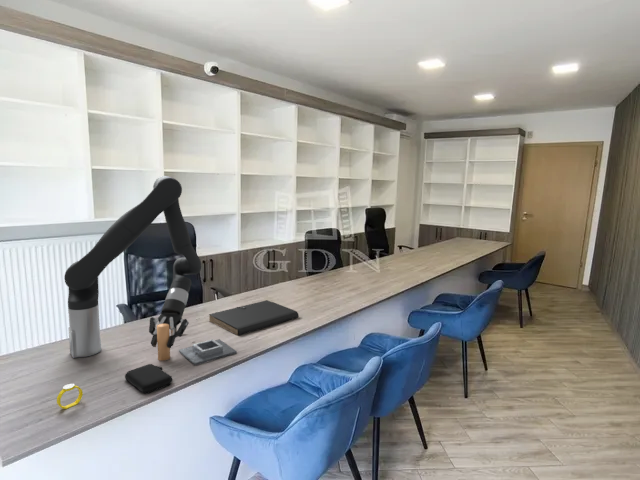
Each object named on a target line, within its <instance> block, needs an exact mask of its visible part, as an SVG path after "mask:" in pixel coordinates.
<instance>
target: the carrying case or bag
mask: <svg viewBox="0 0 640 480" xmlns="http://www.w3.org/2000/svg"><path fill="white" fill-rule="evenodd" d="M124 379H126V380H127V382H129V383H130V384H132V386H134V387H135V388H136V389H138V390H139V391H140V392H142V393H143V394H150V393H153V392H155V391H158V390H161V389H162V388H165V387H168V386H170V385H171V383H173V377H172V375H170V374H169V373H167V372H166V371H164V369H163V367H162V366H159V365H155V364H153V363H149V364H144V365H142V366H140V367H136V368H133V369H130V370H128V371H127V372H126V373H125V375H124Z"/></svg>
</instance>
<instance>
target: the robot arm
mask: <svg viewBox="0 0 640 480" xmlns="http://www.w3.org/2000/svg"><path fill="white" fill-rule="evenodd" d="M182 192H183V187H182V184H181V182H180V181H178V180H177V179H176V178H174V177H173V176H168V175H162V176H159V177H157V178H156V179H155V181H154V183H153V186H152V190H151V191H150V192H149V194H148V195H146V197H145V198H144V199H143V200H142V201H141V202H140V203H139V204H137V205H136V206H134V207H132V208H131V209H130V210H128V211H127V212H125V213H124V214H123V215H121V216H120V217H119V218H118V219H117V220H116V221H114V223H112V224H111V226H110V227H109V228H108V229H107V230H106V231H105V232H104V233H103V235H102V236H101V237H100V239H99V240H97V242H96V244H95V245H94V246H93V248H92V249H90V250H89V251H88V252H87V253H86V254H85V255H84V256H83V257H82V258H80V259H79V260H76V261H74V262H73V263H72V264H71V265H70V266H69V267H68V268H67V269H66V271H65V273H64V283H65V285H66V286H67V287H68V298H67V309H68V310H67V311H68V313H67V314H68V326H69V327H68V341H69V352H70V353H69V354H70V355H71V357H72V359H74V358H85V357H90V356H93V355H96V354H98V353H100V352H101V350H102V344H101V343H102V341H101V325H100V324H101V323H100V310H99V309H100V308H99V305H100V304H99V298H100V297H99V294H100V293H99V276H100V275H101V273H102V272H103V271H104V270H105V269H106V268H107V267H108V265H110V264H111V262H113V261H114V260H115V259H116V258H118V257H119V256H120V255H121V254H122V253H124V252H125V251H126V250H127V249H128V248H129V247H130V246H132V245H133V244H134V243H135V241H137V239H138V238H140V237H141V235H142V234H144V232H145V231H146V230H147V229H148V228H149V227H150V226H151V224H152V223H153V222H154V221H155V220H156V218H157V217H158V216H159V215H160V214H162V213H163V214H164V215H163V216H164V217H165V221H166V225H167V229H168V230H167V231H168V234H169V238H170V242H171V246H172V250H173V251H174V253H175V254H177V255H181V256H182V257H178V258H177V259H176V260H175V261H174V263H173V265H172V270H173V271H172V281H171V284H170V288H169V290H168V292H167V294H166V297H165V301H164V303H163V306H162V307H161V312H160V314H159V315H158V317H150V319H149V325H148V326H149V328H148V332H149V334H150V335H151V336H152V337H151V340H150V344H151V346H152V347H153V348H156V347H157V346H158V344H157V325H159V324H169V330H170V337H169V340H168V343H167V347H168V348H170V349H171V348H172V347H173V346H174V344H175V341H176V338H178V337H182V336H183V334H184V333H185V330H186V329H187V327H188V325H189V323H190V322H189V320H188V319H187V318H183V315H184V312H185V308H186V306H187V304H188V303H187V302H188V299H189V293H190V291H191V288H192V287H191V286H192V280H191V279H190V278H189V277H187V276H188V275H189V276H190V275H198V274H199V273H201V270H202V260H201V259H200V257H199V255H198V254H197V253H198V252H197V251H196V250H195V248H194V247H193V244H192V241H191V237H190V232H189V230H188V226H187V225H186V221H185V219H184V216H183V214H182V210H181V207H180V200H179V198H180V197H181V195H182ZM158 322H159V323H158ZM179 324H180V325H179ZM178 326H179V327H178Z"/></svg>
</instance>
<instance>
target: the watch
mask: <svg viewBox="0 0 640 480" xmlns="http://www.w3.org/2000/svg"><path fill="white" fill-rule="evenodd" d="M74 389H77V390H78V396H77V398H76V400H75V401H74V402H71V403H69V404H67V405H62V404H61V399H62V397H63V395H64V394H65V393H66V392H69V391H70V392H71V391H72V390H74ZM83 394H84V393H83V389H82V388H81V387H80V386H78V385H76V384H75V383H68V384H65V385H63V386H62V389H61V390H60V391H59V393H58V395H57V397H56V404H57V405H58V407H59V408H61V409H62V410H63V409H64V410H67V409H70V408H72V407H74V406H76V405H77V406H78V404H79V403H80V401H81V400H82V398H83Z"/></svg>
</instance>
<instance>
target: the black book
mask: <svg viewBox="0 0 640 480" xmlns="http://www.w3.org/2000/svg"><path fill="white" fill-rule="evenodd" d="M208 315H209V316H208V319H209V320H208V321H209V322H210V323H212V324H214V325H216V326H218V327H219V328H222V329H224V330H226V331H228V332H231V333H232V334H234V335H235V336H238V337H239V336H242V335H245V334H250V333H252V332H255V331H258V330H262V329H266V328H268V327H271V326H275V325H279V324H282V323H284V322H287V321H291V320H295V319H298V318H299V316H300V315H299V313H298V311H296V310H294V309H291V308H290V307H287V306H284V305H281V304H279V303H276V302H275V301H274V302H273V301H270V300H268V299H267V300H263V301H262V300H261V301H258V302H254V303H250V304H246V305H241V306H236V307H233V308H230V309H229V308H228V309H225V310H220V311H217V312H213V313H210V314H208Z"/></svg>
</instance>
